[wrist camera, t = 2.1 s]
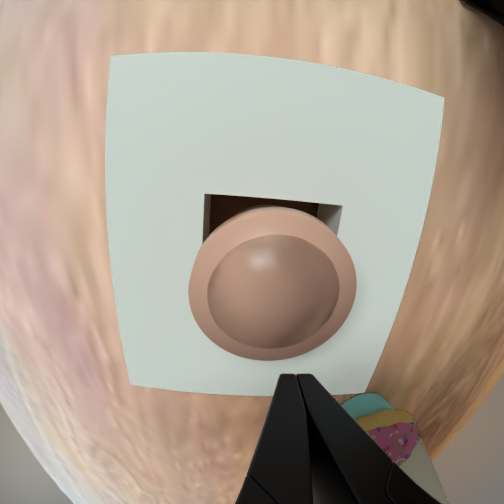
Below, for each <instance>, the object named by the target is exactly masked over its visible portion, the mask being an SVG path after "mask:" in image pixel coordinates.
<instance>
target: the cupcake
mask: <svg viewBox="0 0 504 504" xmlns="http://www.w3.org/2000/svg"><path fill="white" fill-rule="evenodd" d="M341 406H342V407H343V408H344V409H345V410H346V411H347V413H348V414H349V415H350V416H351V417H352V418H353V419H354V420H355V421H356V422H357V423H358V424H359V425H360V427H361V428H362V429H363V430H364V431H365V432H366V433H367V434H368V435H369V436H370V437H371V438H372V439H373V440H374V441H375V442H376V443H377V444H378V446H379V447H380V448H381V449H382V450H383V451H384V452H385V453H386V454H387V455H388V456H389V457H390V458H391V459H392V462H395V463H396V464H397V465H398V466H400V465H401V464H402V463H403V462H404V461H407V459H408V458H409V457H410V455H411V453H412V452H413V451H414V449H415V446H416V444H417V442H418V441H419V440H420V439H419V433H418V431H419V430H418V426H417V423H416V421H415V419H414V418H413V417H412V416H411V414H410V413H409V412H407V411H401V410H397V409H395V408H393V407H392V406H391V405H390V404H389V403H388V402H387V401H386V400H385V399H384V398H383V397H382V396H381V395H379V394H376V393H365V394H361V395H357V396H355V397H352V398H350V399H349V400H347V401H345V402H344V403H343V404H342V405H341Z"/></svg>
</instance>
